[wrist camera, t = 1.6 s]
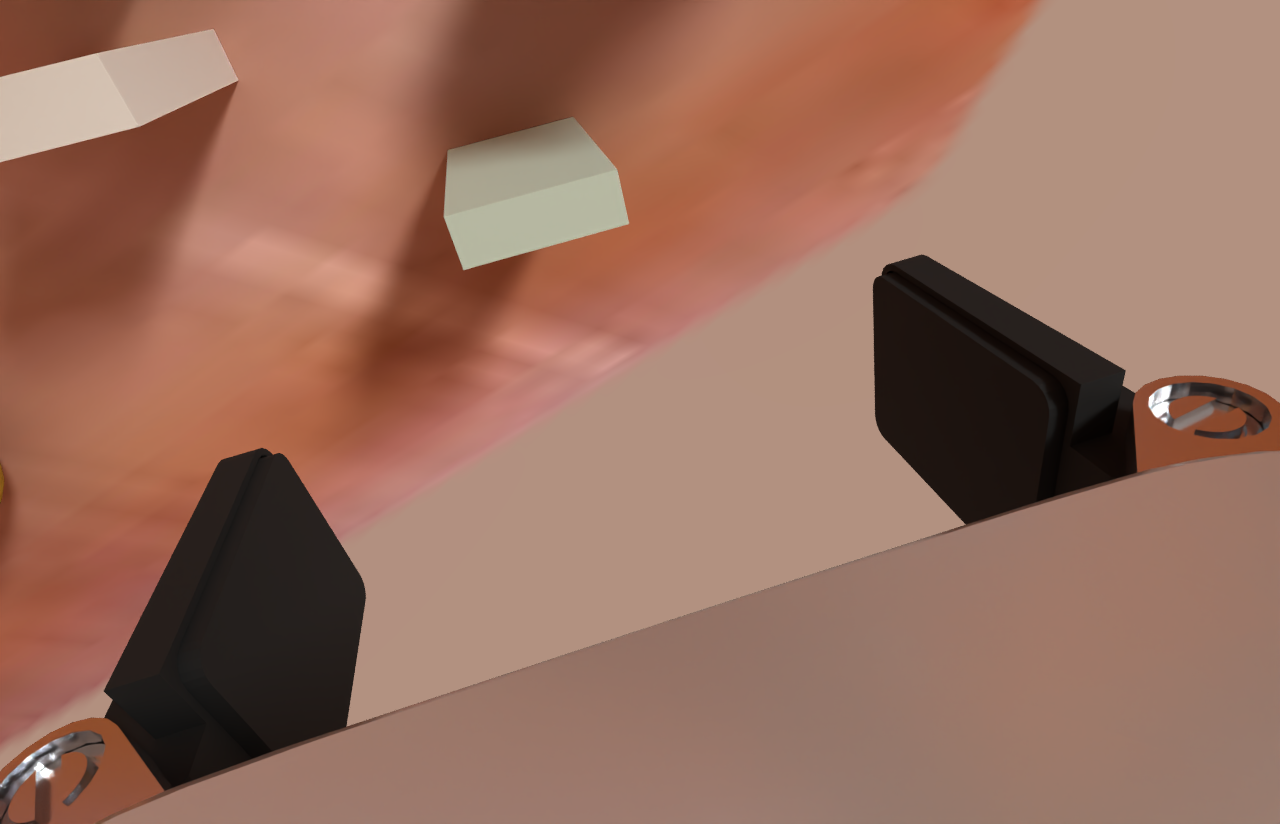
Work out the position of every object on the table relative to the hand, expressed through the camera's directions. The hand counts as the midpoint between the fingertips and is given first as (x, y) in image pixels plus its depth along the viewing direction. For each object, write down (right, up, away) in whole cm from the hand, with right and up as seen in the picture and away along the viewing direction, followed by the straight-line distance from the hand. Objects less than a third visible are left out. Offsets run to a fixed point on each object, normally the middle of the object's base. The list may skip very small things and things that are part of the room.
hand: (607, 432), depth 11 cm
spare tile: (-4, +10, +16) cm, 20 cm away
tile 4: (-16, +12, +12) cm, 23 cm away
